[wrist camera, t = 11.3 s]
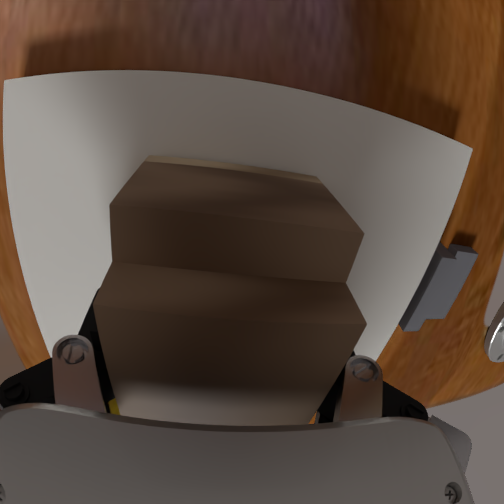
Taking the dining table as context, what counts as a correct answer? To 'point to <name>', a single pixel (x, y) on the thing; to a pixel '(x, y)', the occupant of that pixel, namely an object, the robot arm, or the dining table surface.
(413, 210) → the board
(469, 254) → the dark grey block
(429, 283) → the dark grey block
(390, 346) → the dining table surface
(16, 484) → the robot arm
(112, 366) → the block
